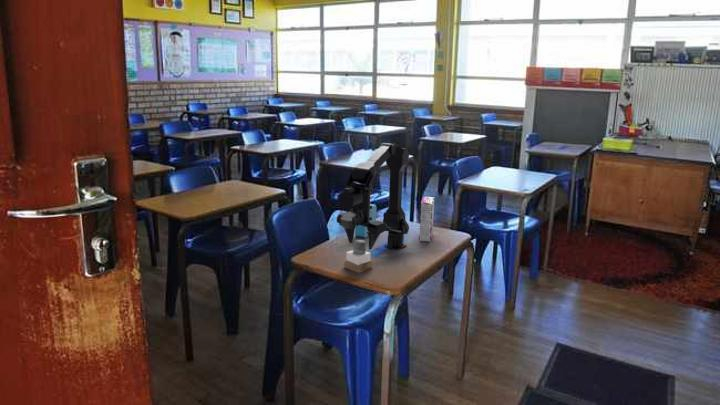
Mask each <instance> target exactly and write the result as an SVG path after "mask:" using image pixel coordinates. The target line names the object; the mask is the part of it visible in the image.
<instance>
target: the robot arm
mask: <svg viewBox="0 0 720 405" xmlns="http://www.w3.org/2000/svg"><path fill="white" fill-rule="evenodd" d="M409 158H410V152H409V151H408V150H407V148H405V147H400V146H397V145H396V144H394V143H390V142H382V143H380V145H379V147H378V148H377V149H376V151H375V152H373V153H372V154H371V156H369V158H368V159H367V160H366V161H364V162H360V163H358V164H357V165H355V166H353V168H352V169H351V171H350V173H349V176H348V179H347V182H346V184H345V188H344V189H343V190H344V191H343V192H341V193H340V195H339V197H338V203H339V206H341V208H343V209H344V210H349V211H347V212H343V213H339V214H338V215H337V217H336V223H337V224H338V225H339V226H341V228H343V229H344V232H345V234H346V236H347V240H348V243H349V244H352V243H353V241H354V236H355V226H359V225H362V226H365V227H367V230H368V231H369V232H367V234H368V235H369V236H368V250H372V249H373V247H374V245H375V243H376V241H377V240H378V239H379V236H380V235H381V234H383V233H384V232H387V243H385V244H384V247H387V248H390V249H394V250H396V251H397V250H398V251H399V250H400V249H403V248H406V247H407V244H405V243H404V241H405V235H407V234H408V233H409V230H410V225H409V223H408V222H407V220H406V213H405V211H404V209H403V208H402V202H403V175H404V170H405V168H406V167H407V165H408V161H409ZM384 164H386V166H387V168H388V169H389V186H388V187H389V189H388V190H389V192H388V207H387V209H386V211H384V212H383V214H382V215H383V216H382V217H383V219H382V221H379V220H376V221H375V222H369V221H370V220H372V217H370V209H372V205H370V204H371V192H372V189H374V185H373V183H374V180H375V179H376V177H377V172H378V170H379V169H380V168H381V167H382V166H383V165H384Z"/></svg>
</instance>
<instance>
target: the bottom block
mask: <svg viewBox="0 0 720 405" xmlns="http://www.w3.org/2000/svg"><path fill="white" fill-rule="evenodd" d="M343 261H344V262H343V268H344V269H347V270H350V271H353V272H356V273H358V274H359V273H363V272H365V271H367V270H370V269H372V268H373V260H372V259H370V261H369V262H366V263H363V264H360V265H356V264H354V263H352V262H349V261H347V260H346V259H345V260H343Z"/></svg>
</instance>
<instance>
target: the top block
mask: <svg viewBox="0 0 720 405" xmlns="http://www.w3.org/2000/svg"><path fill="white" fill-rule="evenodd" d="M371 254H372V253H371V252H369V251H366V253H365V254H363V255H356V254H354V253H353V249H351V250H349V251H346V257H345V260H347V261H349V262H352V263H354V264H356V265H360V264H363V263H366V262H369V261H370V260H371V256H372V255H371Z"/></svg>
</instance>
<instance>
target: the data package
mask: <svg viewBox="0 0 720 405" xmlns="http://www.w3.org/2000/svg"><path fill="white" fill-rule="evenodd" d="M370 205H372V209H370V217H372V220H370V221H369V222H375V221H377V205H376V204H372V203H370ZM367 232H369V231H368V230H367V227H365V226H362V225H359V226H355V230H354V236H356V237H358V238H359V237H360V238H364V239H365V238H368V237H369V235H368V234H367Z"/></svg>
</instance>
